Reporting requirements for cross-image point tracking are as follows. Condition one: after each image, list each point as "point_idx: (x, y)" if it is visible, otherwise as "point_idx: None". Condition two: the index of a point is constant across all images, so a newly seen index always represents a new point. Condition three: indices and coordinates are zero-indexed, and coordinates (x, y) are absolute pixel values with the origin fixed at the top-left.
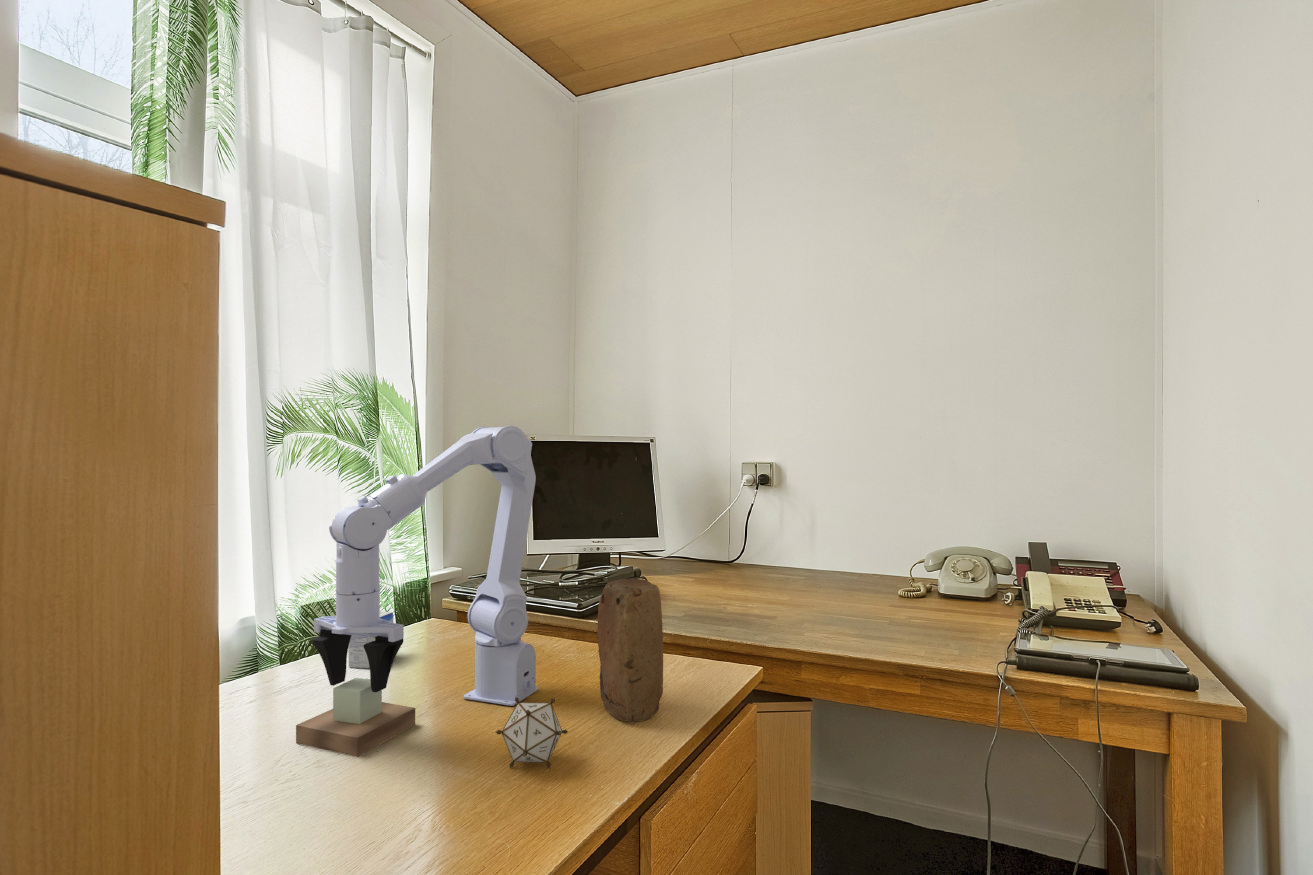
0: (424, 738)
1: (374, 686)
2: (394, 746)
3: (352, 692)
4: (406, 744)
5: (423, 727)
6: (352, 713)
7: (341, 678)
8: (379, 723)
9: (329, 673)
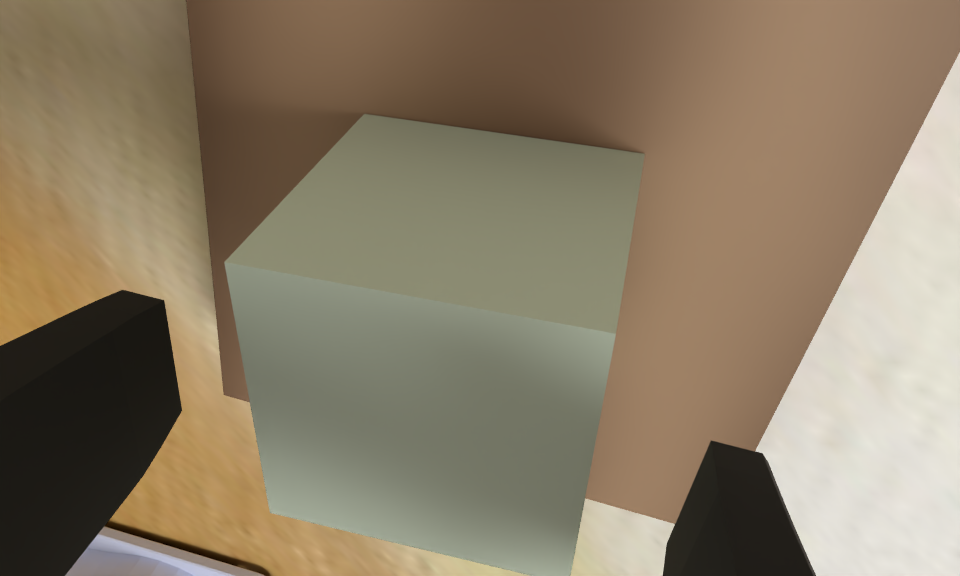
0: (89, 171)
1: (69, 313)
2: (151, 39)
3: (339, 268)
4: (111, 79)
5: (206, 299)
6: (411, 158)
7: (678, 553)
8: (236, 147)
9: (761, 558)
